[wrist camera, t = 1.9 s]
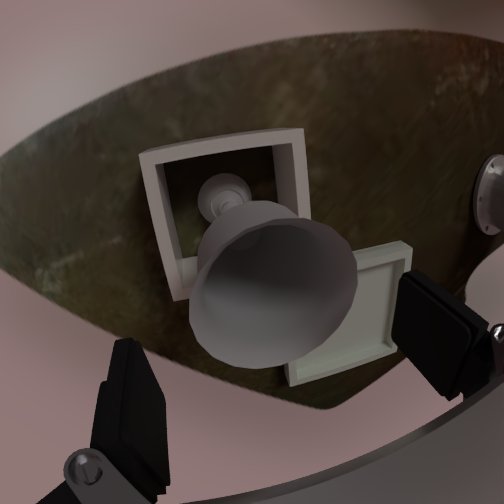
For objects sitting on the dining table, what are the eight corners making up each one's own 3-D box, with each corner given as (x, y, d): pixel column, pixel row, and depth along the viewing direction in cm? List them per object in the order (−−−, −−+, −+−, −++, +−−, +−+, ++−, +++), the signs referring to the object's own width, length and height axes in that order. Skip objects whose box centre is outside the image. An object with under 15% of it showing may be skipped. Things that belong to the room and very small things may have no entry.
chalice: (221, 250, 30) (263, 389, 14) (171, 202, 27) (150, 312, 11) (277, 198, 29) (382, 291, 13) (229, 146, 27) (296, 176, 10)
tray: (400, 240, 34) (412, 248, 32) (387, 341, 41) (396, 351, 39) (274, 268, 32) (281, 279, 30) (284, 373, 39) (290, 386, 36)
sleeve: (280, 127, 27) (303, 128, 21) (291, 246, 32) (313, 272, 26) (149, 148, 25) (138, 154, 20) (175, 269, 30) (173, 301, 25)
